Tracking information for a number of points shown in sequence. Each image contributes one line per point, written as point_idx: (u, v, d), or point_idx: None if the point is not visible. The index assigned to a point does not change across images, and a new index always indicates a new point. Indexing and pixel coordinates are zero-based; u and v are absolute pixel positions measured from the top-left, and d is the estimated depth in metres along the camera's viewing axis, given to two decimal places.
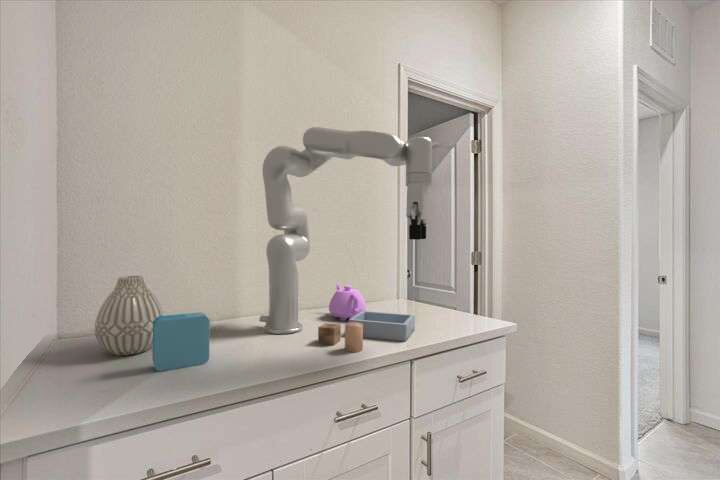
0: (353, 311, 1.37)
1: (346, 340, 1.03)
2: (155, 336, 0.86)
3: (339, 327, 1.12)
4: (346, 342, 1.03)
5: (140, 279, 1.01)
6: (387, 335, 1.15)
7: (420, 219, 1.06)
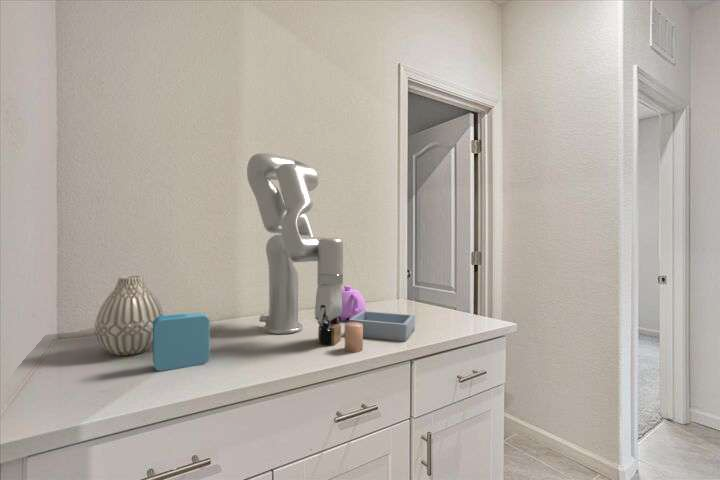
0: (353, 311, 1.37)
1: (346, 340, 1.03)
2: (155, 336, 0.86)
3: (339, 327, 1.12)
4: (346, 342, 1.03)
5: (140, 279, 1.01)
6: (387, 335, 1.15)
7: (330, 323, 1.08)
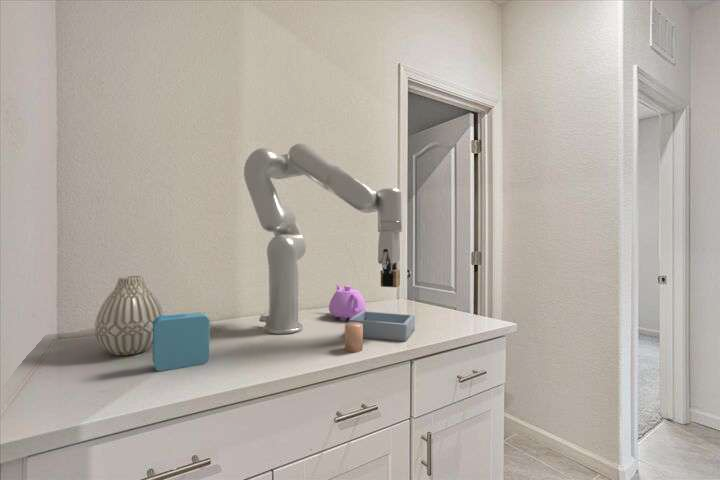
0: (353, 311, 1.37)
1: (346, 340, 1.03)
2: (155, 336, 0.86)
3: (399, 272, 1.20)
4: (346, 342, 1.03)
5: (140, 279, 1.01)
6: (387, 335, 1.15)
7: (392, 266, 1.17)
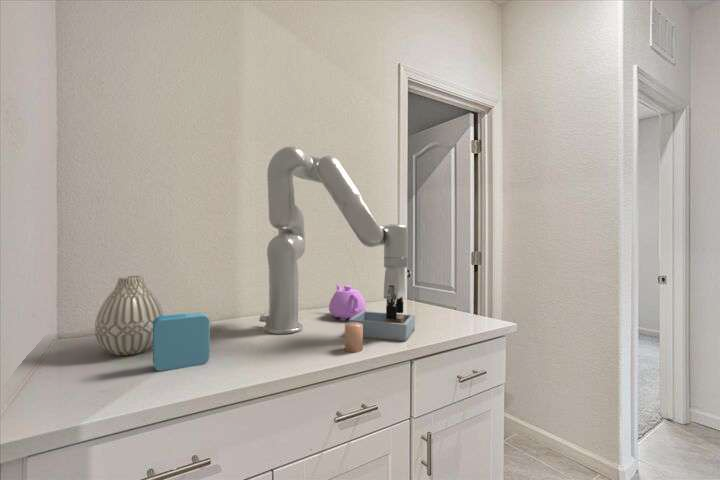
0: (353, 311, 1.37)
1: (346, 340, 1.03)
2: (155, 336, 0.86)
3: (403, 318, 1.22)
4: (346, 342, 1.03)
5: (140, 279, 1.01)
6: (387, 335, 1.15)
7: (396, 300, 1.17)
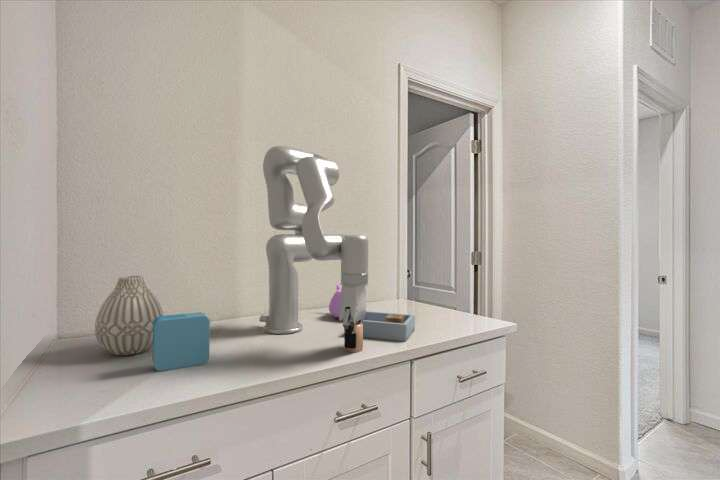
0: None
1: None
2: (155, 336, 0.86)
3: (403, 318, 1.22)
4: None
5: (140, 279, 1.01)
6: (387, 335, 1.15)
7: (355, 325, 1.02)
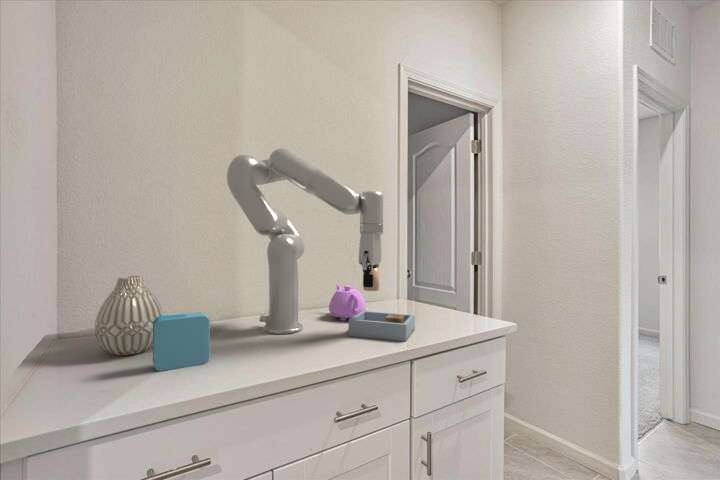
0: (353, 311, 1.37)
1: None
2: (155, 336, 0.86)
3: (403, 318, 1.22)
4: None
5: (139, 279, 1.01)
6: (387, 335, 1.15)
7: (372, 267, 1.19)
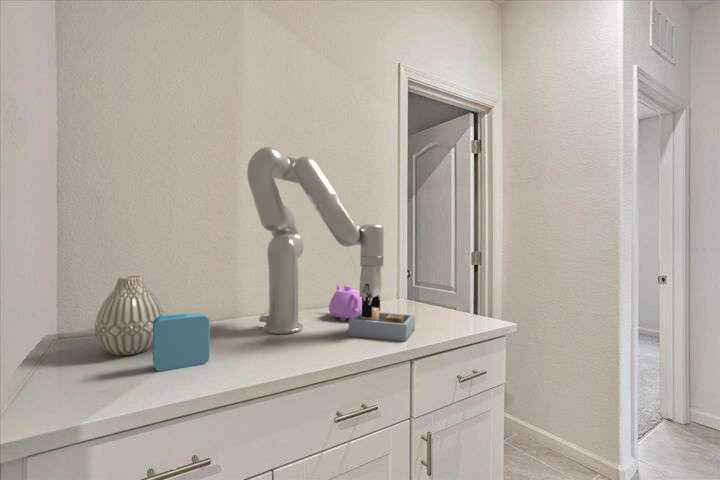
0: (353, 311, 1.37)
1: None
2: (155, 336, 0.86)
3: (403, 318, 1.22)
4: None
5: (139, 279, 1.01)
6: (387, 335, 1.15)
7: (371, 299, 1.20)
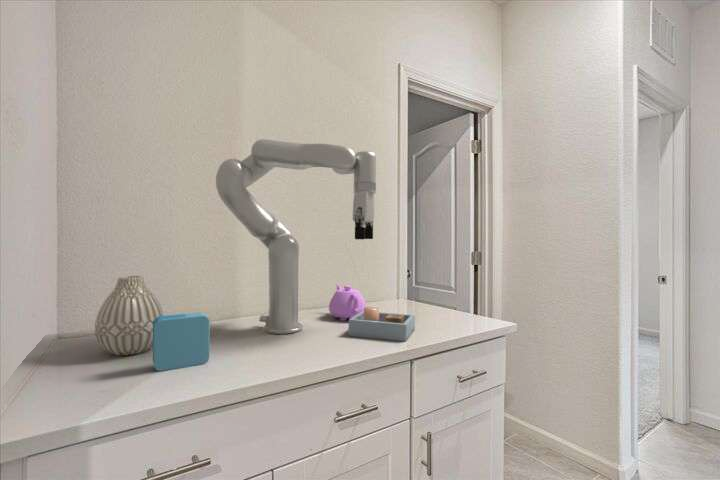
0: (353, 311, 1.37)
1: None
2: (155, 336, 0.86)
3: (403, 318, 1.22)
4: None
5: (139, 280, 1.01)
6: (387, 335, 1.15)
7: (364, 222, 1.24)
